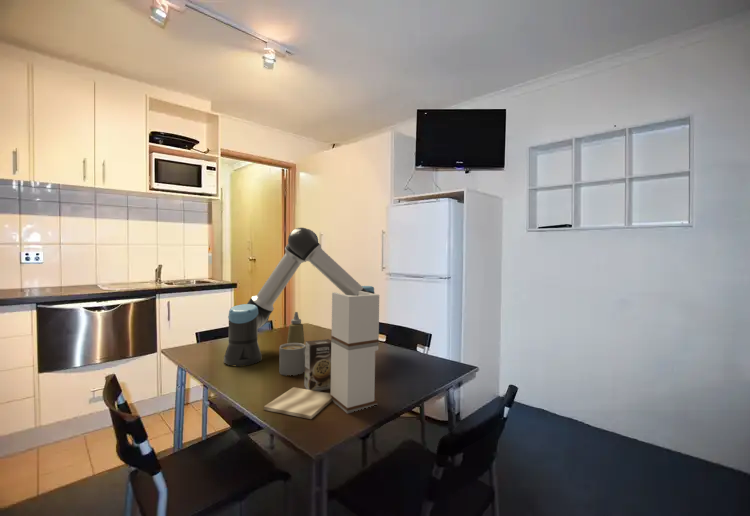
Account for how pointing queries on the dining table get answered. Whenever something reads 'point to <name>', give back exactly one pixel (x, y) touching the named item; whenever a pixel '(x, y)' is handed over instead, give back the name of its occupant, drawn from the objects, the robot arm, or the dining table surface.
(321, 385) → the coffee box
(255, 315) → the robot arm
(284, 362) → the coffee mug
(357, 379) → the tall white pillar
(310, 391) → the birch board
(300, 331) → the squeeze bottle
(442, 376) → the dining table surface
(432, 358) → the dining table surface
